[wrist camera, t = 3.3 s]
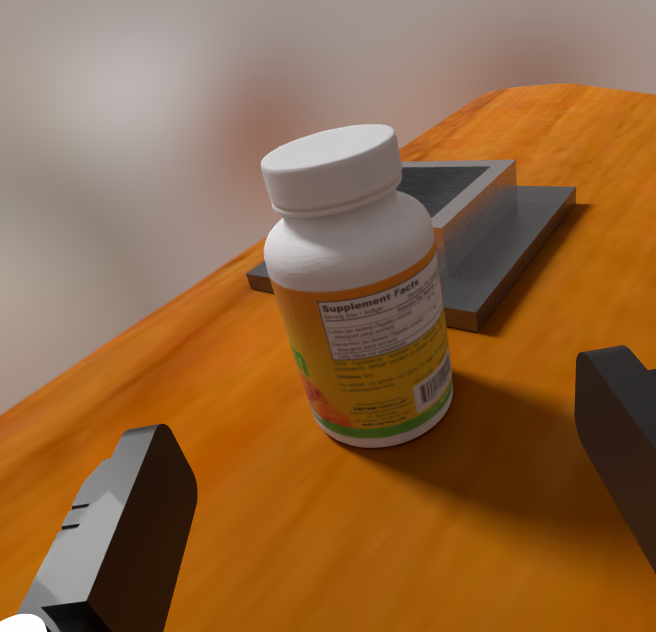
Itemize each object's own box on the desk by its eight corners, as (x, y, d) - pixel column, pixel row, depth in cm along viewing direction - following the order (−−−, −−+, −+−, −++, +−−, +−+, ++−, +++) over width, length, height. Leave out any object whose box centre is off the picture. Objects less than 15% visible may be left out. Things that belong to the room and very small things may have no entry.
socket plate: (377, 197, 39) (369, 151, 37) (575, 203, 30) (577, 143, 29) (251, 288, 30) (232, 234, 29) (477, 332, 22) (471, 258, 20)
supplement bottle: (312, 371, 22) (243, 145, 17) (436, 345, 22) (402, 106, 17) (315, 466, 18) (223, 194, 13) (473, 435, 17) (441, 142, 12)
